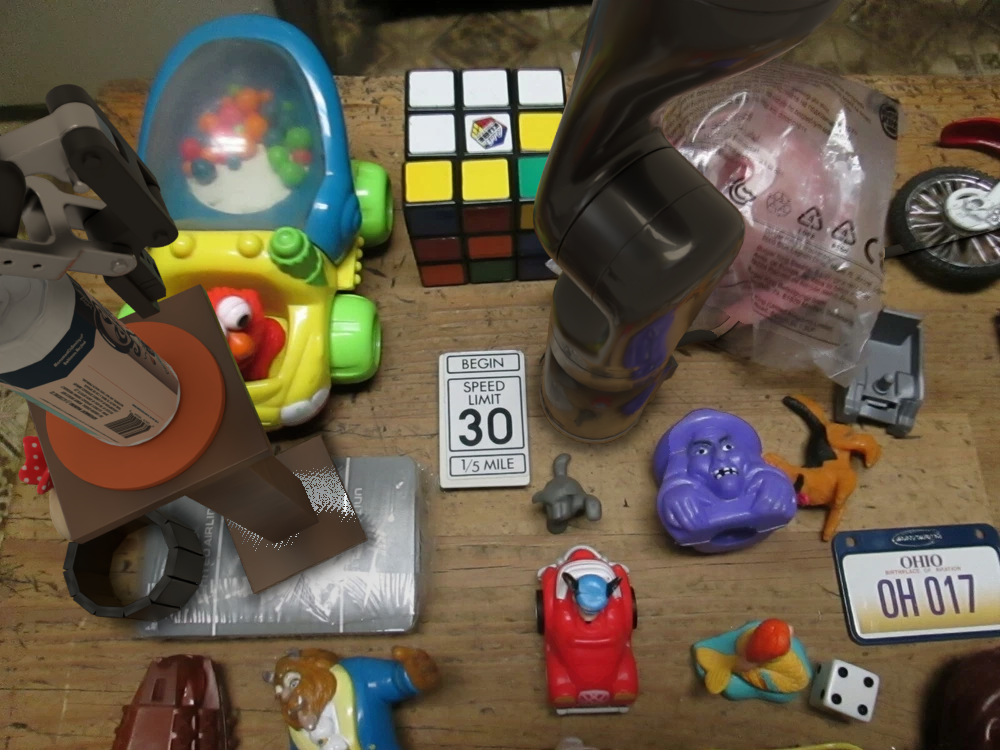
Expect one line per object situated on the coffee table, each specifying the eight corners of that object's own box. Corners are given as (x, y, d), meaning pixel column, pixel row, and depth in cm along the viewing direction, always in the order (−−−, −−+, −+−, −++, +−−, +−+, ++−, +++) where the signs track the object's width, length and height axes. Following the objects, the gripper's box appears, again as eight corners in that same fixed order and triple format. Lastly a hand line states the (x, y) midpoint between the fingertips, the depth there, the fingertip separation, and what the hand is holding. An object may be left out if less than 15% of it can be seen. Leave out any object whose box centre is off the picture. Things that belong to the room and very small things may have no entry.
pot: (184, 498, 71) (156, 484, 65) (218, 591, 68) (192, 584, 63) (86, 544, 70) (50, 533, 64) (118, 640, 67) (83, 637, 62)
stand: (322, 437, 73) (200, 283, 44) (368, 540, 70) (269, 449, 41) (214, 487, 71) (13, 363, 42) (256, 595, 68) (71, 541, 39)
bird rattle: (156, 522, 72) (150, 419, 72) (95, 560, 61) (86, 438, 61) (85, 524, 72) (78, 421, 72) (10, 562, 61) (1, 441, 61)
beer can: (199, 369, 41) (83, 257, 30) (161, 460, 40) (23, 378, 28) (110, 345, 42) (-37, 226, 30) (69, 434, 40) (-102, 343, 29)
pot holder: (192, 299, 43) (187, 294, 43) (251, 443, 41) (247, 439, 40) (30, 369, 42) (24, 365, 41) (81, 521, 39) (74, 519, 39)
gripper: (-725, 342, 15) (-112, 504, 31) (24, 59, 18) (248, 343, 33) (-727, 49, 18) (-155, 336, 33) (-63, -171, 20) (185, 195, 35)
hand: (46, 339), depth 33 cm, fingers open, 8 cm apart
